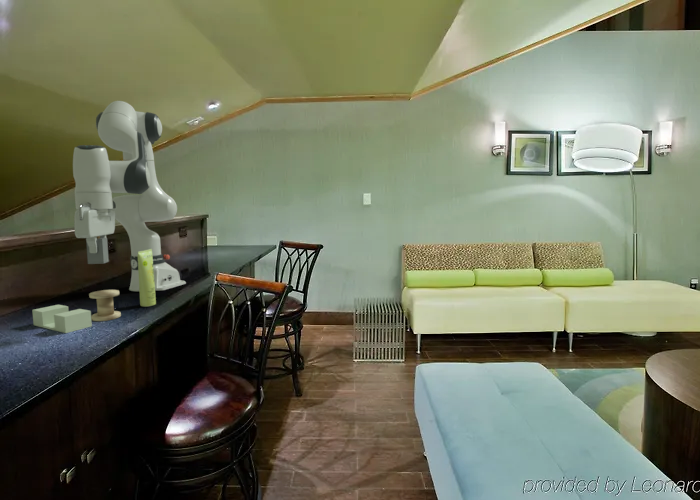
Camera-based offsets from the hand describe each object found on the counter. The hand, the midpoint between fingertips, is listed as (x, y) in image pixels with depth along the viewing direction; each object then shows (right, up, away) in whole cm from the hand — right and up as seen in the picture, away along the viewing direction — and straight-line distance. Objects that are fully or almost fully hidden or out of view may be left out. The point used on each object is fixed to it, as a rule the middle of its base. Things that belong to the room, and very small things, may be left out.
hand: (97, 252), depth 114 cm
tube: (+1, -19, +26) cm, 33 cm away
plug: (0, -3, 0) cm, 3 cm away
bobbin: (-4, -21, +11) cm, 24 cm away
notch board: (-12, -22, +3) cm, 25 cm away
